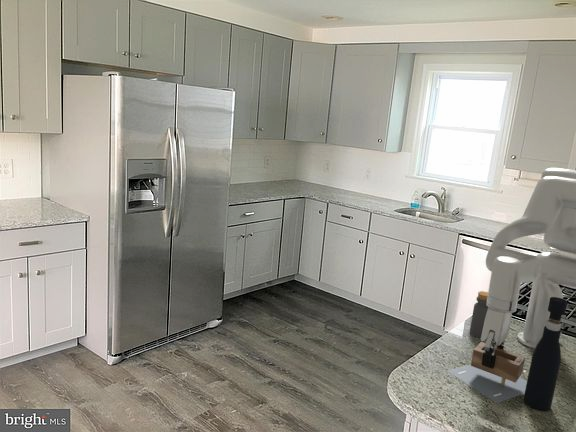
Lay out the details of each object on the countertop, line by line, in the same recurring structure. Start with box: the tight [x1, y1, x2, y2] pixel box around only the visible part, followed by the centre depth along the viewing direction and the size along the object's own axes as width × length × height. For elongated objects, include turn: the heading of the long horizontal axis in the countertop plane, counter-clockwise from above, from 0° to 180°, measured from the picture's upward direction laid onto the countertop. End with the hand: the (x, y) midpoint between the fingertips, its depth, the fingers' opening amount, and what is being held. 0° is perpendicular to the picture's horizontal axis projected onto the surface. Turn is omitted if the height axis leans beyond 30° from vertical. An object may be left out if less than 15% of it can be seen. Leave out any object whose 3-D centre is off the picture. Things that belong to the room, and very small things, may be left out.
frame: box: [470, 341, 526, 383], centre depth 137 cm, size 6×12×5 cm, turn 51°
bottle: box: [469, 290, 489, 339], centre depth 169 cm, size 6×6×15 cm
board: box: [446, 363, 527, 404], centre depth 139 cm, size 18×17×4 cm
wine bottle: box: [523, 297, 568, 412], centre depth 125 cm, size 6×6×30 cm
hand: (491, 361), depth 138 cm, fingers closed on frame, 6 cm apart
